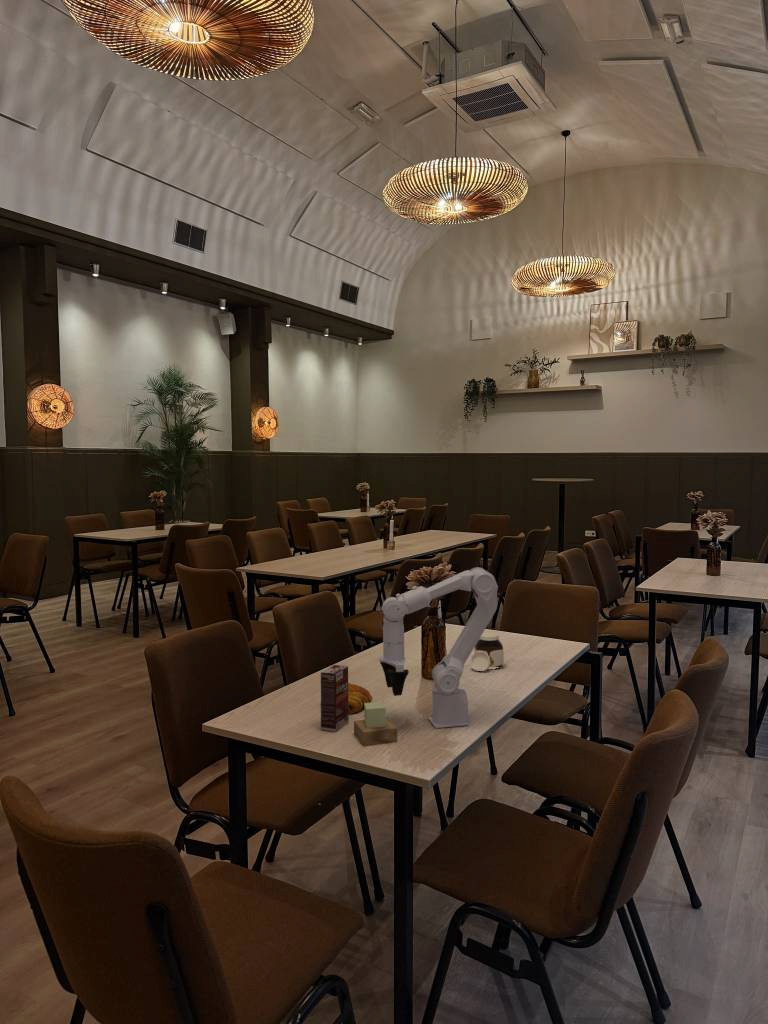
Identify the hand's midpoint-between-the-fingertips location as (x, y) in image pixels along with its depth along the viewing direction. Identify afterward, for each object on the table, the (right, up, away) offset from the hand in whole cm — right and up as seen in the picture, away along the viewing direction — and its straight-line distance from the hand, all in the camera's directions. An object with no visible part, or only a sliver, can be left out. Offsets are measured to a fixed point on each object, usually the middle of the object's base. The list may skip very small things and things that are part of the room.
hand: (394, 690), depth 197 cm
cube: (-5, -6, -9) cm, 12 cm away
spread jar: (+33, -6, +55) cm, 64 cm away
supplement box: (-16, -10, 0) cm, 19 cm away
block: (-5, -10, -9) cm, 15 cm away
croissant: (-14, -9, +16) cm, 23 cm away
